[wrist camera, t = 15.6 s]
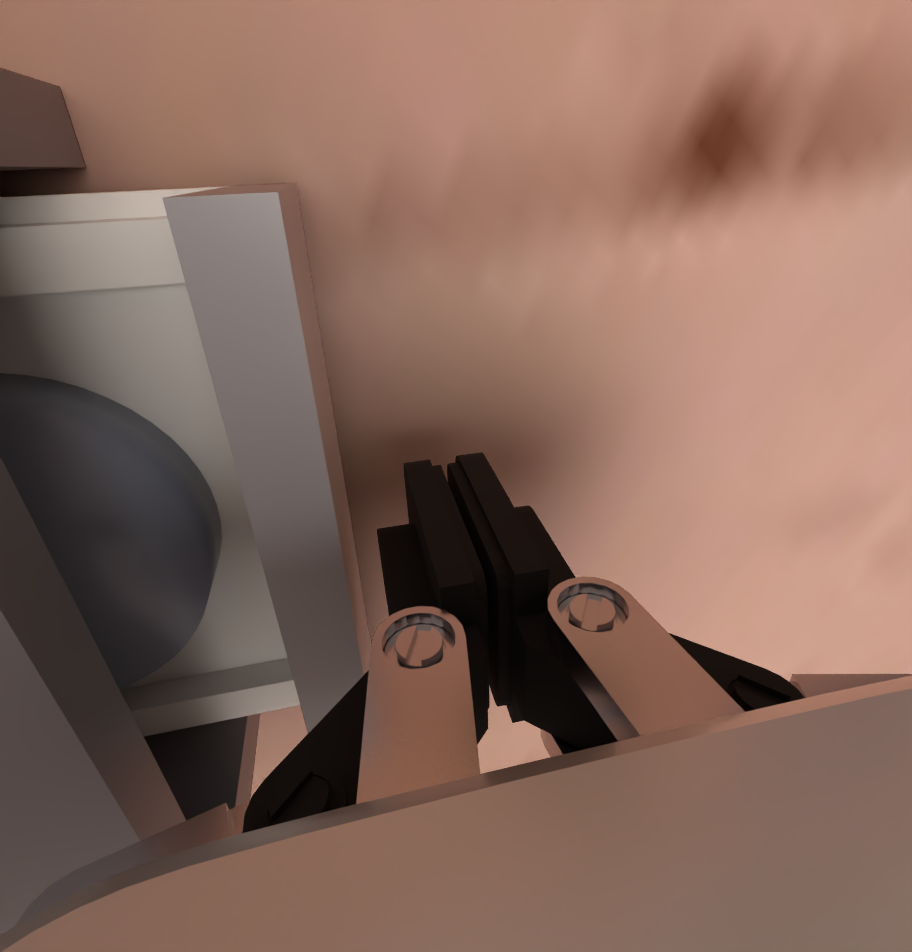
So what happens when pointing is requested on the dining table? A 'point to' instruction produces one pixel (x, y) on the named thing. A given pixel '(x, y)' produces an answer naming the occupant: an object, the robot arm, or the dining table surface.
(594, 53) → the dining table surface
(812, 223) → the dining table surface
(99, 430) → the game disc
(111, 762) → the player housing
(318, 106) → the dining table surface
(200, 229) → the disc tray
